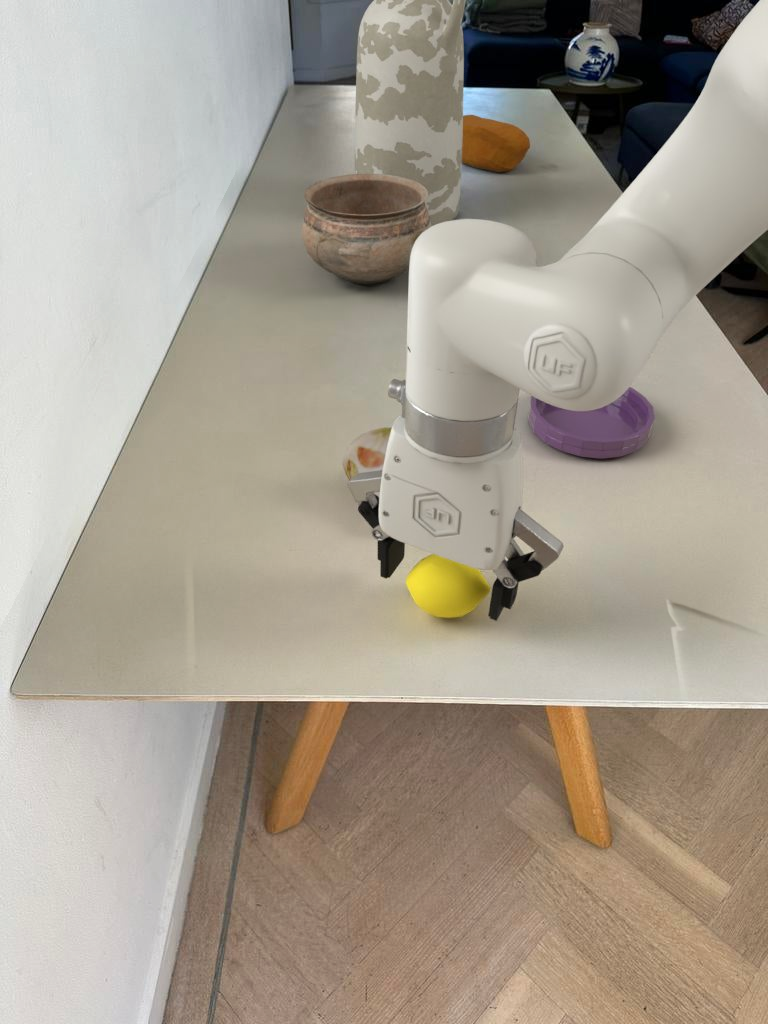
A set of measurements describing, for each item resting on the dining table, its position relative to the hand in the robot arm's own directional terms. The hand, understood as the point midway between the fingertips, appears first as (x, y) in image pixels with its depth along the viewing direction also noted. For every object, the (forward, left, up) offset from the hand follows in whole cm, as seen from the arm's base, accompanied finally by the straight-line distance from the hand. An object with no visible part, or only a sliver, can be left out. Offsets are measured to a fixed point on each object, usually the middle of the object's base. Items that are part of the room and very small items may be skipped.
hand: (444, 587), depth 63 cm
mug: (+10, -10, -3) cm, 14 cm away
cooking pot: (+38, -56, -3) cm, 68 cm away
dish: (-3, -32, -2) cm, 32 cm away
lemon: (0, 0, -3) cm, 3 cm away
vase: (+44, -83, -3) cm, 94 cm away
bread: (+43, -118, -3) cm, 126 cm away
